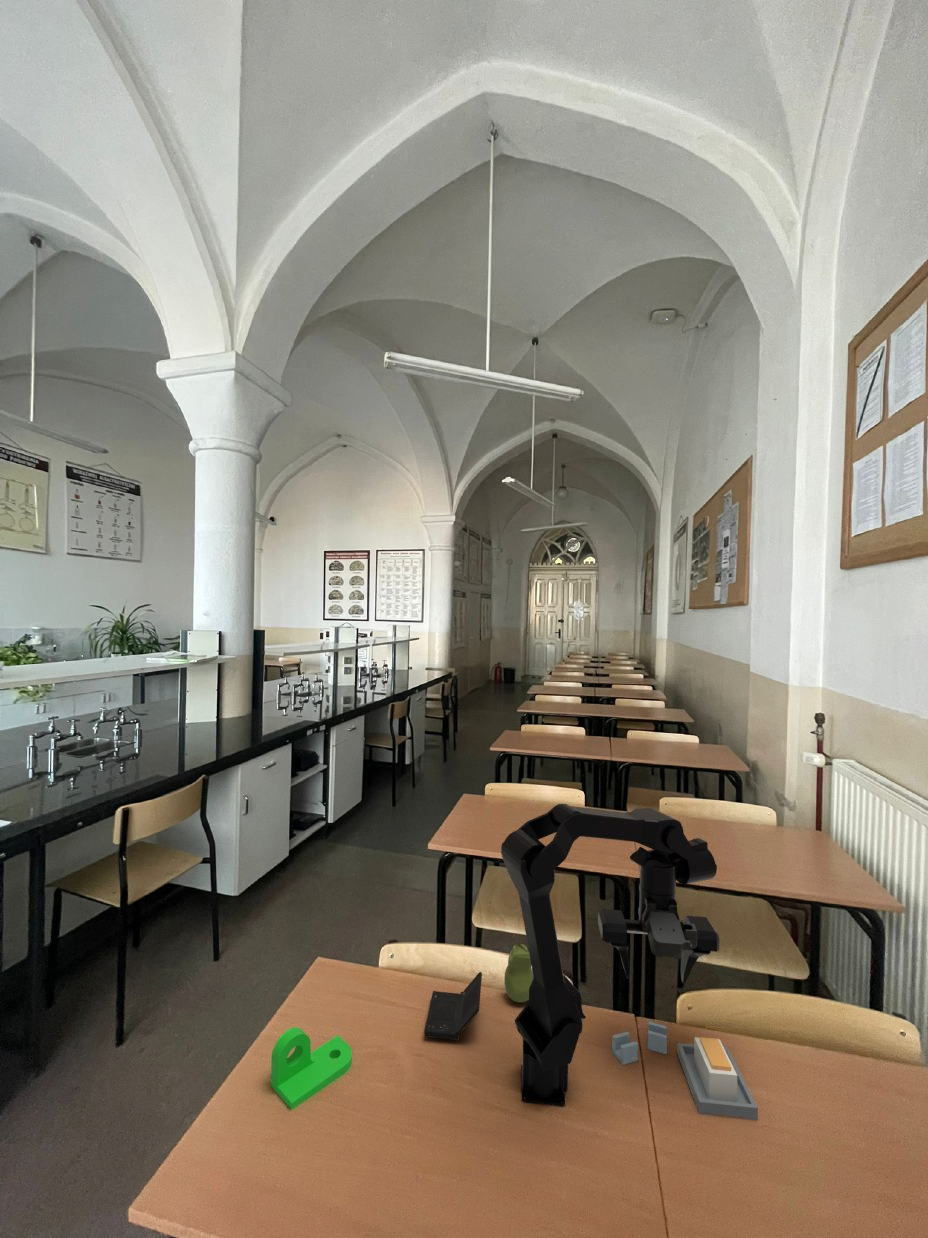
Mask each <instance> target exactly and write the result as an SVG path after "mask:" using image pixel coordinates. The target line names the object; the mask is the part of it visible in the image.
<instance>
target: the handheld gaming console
mask: <svg viewBox="0 0 928 1238" xmlns="http://www.w3.org/2000/svg"><path fill="white" fill-rule="evenodd" d="M482 977H483V972H482V971H479V972H478V973H477V974H476V976H475V977H474V978H473V980H471V982H470V983H469V984H468V985H467V987H466V988H464V990H463V991H461V992H460V993H458V992H447V991H440V990H439V991H437V990H433V991H432V994H431V998H430V999H431V1000H430V1003H429V1008H428V1013H427V1017H426V1021H425V1024H424V1025H425V1026H424V1032H423V1034H424V1035H423V1036H424V1037H428V1038H429V1037H430V1038H438V1039H447V1040H455V1041H459V1038H460V1033H462V1031H463V1030H465V1028H466V1027H467V1025H468V1024H469V1023H470V1022H471V1021H472V1019H474V1017H475V1016H476V1015H477V1013H478V1012H479V1011H480V1003H481V1002H480V1001H481V993H482V992H481V991H482Z"/></svg>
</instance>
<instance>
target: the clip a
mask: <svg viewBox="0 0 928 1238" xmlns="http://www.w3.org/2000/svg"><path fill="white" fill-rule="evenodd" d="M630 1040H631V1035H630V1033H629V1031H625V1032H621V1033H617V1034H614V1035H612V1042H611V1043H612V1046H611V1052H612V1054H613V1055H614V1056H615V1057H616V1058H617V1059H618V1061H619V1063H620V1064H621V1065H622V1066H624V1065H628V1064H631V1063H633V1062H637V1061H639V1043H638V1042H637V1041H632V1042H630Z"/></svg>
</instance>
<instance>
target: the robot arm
mask: <svg viewBox="0 0 928 1238" xmlns="http://www.w3.org/2000/svg"><path fill="white" fill-rule="evenodd" d="M553 834H555V835H554V837H553V839H552V840H551V841H550V842H549V843H548V844H547V845H545V844H544V843H543V842H541V839H543V838H546V837H548V836H551V835H553ZM580 837H584V838H593V839H594V838H595V839H603V840H604V839H606V840H613V841H615V840H616V841H623V842H624V841H625V842H633V843H636V844H640V846H639V847H638V849H637V850H636V851H634V852H633V853H632V854H631V855H630V856H629V860H630V861H631V862H633V863H635V864H637V865H638V866H639V867H640V870H639V871H640V872H639V873H640V874H639V875H640V877H639V884H638V890H639V907H638V910H637V911H638V912H637V913H638V919H625V917H624V914H623V911H622V910H617V909H606V908H602V909H600V910H599V912H598V915H597V924H598V929H599V932H600V936H601V940H602V941H603V942H605V943H609V946H611V947H613V948H616V949H617V951H618V953H619V955H620V959H621V963H622V966H623V970H624V973H625V978H626V979H629V978H630V973H631V971H630V960H629V947H630V946H629V943H628V934H641V935H647V936H648V940H649V941H648V942H649V944H650V950H651V953H652V955H654V956H655V957H656V958H657V957H658V958H663V957H664V958H665V957H666V958H674V959H680V979H681V982H682V984H686V983H687V982H688V979H689V977H690V974H691V972H692V970H693V968H694V966H695V964H696V962H697V961H698V959H699V958H700V957H702V956H709V955H710V954H711V952H719V951H720V937H719V936H720V935H719V934H718V932H717V930H716V928H715V927H714V926H713V924H712V921H710V920H709V919H708V917H706V916H696V915H694V916H693V915H685V916H684V920H681V919H680V916H679V914H678V902H677V900H676V897H677V896H676V895H677V894H676V892H677V890H676V889H677V882H678V883H679V884H680V885H689V884H690V885H691V884H695V883H698V882H703V881H708V880H709V881H710V880H712V879H713V878H715V876H716V874H717V871H718V865H717V863H716V861H715V858H714V857H715V856H714V855H713V854H712V852H711V851H710V850H709V848H708V846H709V845H708V844H709V843H708V842H707V841H706V840H703V839H702V838H699V837H696V838H692V839H691V840H688V838H687V836H686V835H685V833H684V827H683V825H682V822H681V821H680V820H677V818H674V817H672V816H669V815H668V814H666V813H663V812H661V811H659V810H658V809H655V808H652V807H644V808H643V807H642V808H635V809H632V810H631V811H629V812H621V811H614V810H606V809H597V808H589V807H582V806H573V805H569V804H567V803H558V804H556V805H554V806H553V807H552V808H551V809H550V810H549V811H547V812H546V813H543V814H541V815H538V816H537V817H534V818H532V819H529V820H527V821H526V822H525V823H523V824H522V825H521V826H520V827H519V828H517V829H516V830H514V831H512V832H511V833H509V834H508V835H507V836H506V838H505V839H504V841H503V842H502V844H501V846H500V847H501V848H500V854H501V858H502V860H503V863H504V865H505V868H506V871H507V873H508V875H509V878H510V879H511V882H512V883H513V885H514V887H515V888H516V891H517V894H518V898H519V902H520V903H519V905H520V908H521V914H522V919H523V925H524V926H523V927H524V931H525V936H526V942H527V946H528V947H527V950H528V952H529V954H530V960H531V965H532V966H531V968H532V971H533V980H532V983H531V985H530V987H529V999H528V1002H527V1003H526V1004H525V1006H524V1007H523V1008H522V1010H521V1011H520V1012H519V1014H518V1015H517V1016H516V1018H515V1019H514V1024H515V1028H516V1030H517V1033H518V1034H520V1035H521V1038H522V1064H521V1065H520V1077H521V1079H520V1081H521V1082H520V1083H521V1085H520V1087H521V1088H520V1089H521V1090H520V1091H521V1096H520V1097H521V1099H520V1100H521V1101H522V1102H523V1103H526V1104H527V1103H528V1104H536V1105H537V1104H538V1105H547V1106H555V1107H556V1106H557V1107H565V1106H566V1095H565V1093H567V1092H568V1091H569V1090H568V1089H569V1087H568V1085H569V1083H568V1082H569V1065H570V1064H571V1063H572V1062H573V1061H572V1060H573V1057H574V1054H575V1051H576V1048H577V1044H578V1041H579V1037H580V1034H582V1032H583V1020H585V1019H586V1018H587V1017H586V1015H585V1014H584V1012H583V1008H582V1004H583V1003H582V1001H583V1000H582V999H583V998H582V994H581V992H580V991H579V990H578V988H577V987H575V985H574V984H573V983H572V982H571V981H570V979H568V978H567V976H566V975H565V974H564V973H563V966H562V960H561V953H560V949H559V942H558V936H557V930H556V925H555V919H554V912H553V907H552V902H551V891H552V888H553V886H554V884H555V881H556V872H555V871H556V869H557V868H558V867H559V866H560V865H561V864H563V862H564V861H566V859H567V857H568V855H569V853H570V851H571V848H572V846H573V844H574V842H575V841H576V840H577V839H579V838H580ZM641 845H642V846H644V847H647V848H649V849H648V850H647V849H645V848H644V847H642V846H641Z"/></svg>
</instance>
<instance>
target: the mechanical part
mask: <svg viewBox="0 0 928 1238" xmlns="http://www.w3.org/2000/svg"><path fill="white" fill-rule="evenodd" d="M311 1046H312V1042H311V1038H310V1036H309V1035H308V1034H306V1032H305V1031H303V1030H302V1028H300V1027H298V1026H296V1027H291V1028H289V1029H287V1030H286V1031H285V1032H283V1034H281V1036H280V1037H279V1038H278V1039H277V1041H276V1042H275V1044H274V1046H273V1049H272V1053H271V1059H270V1060H271V1068H270V1087H271V1088H272V1089H273V1091H274V1092H275V1093H276V1094H277V1096H279V1097H280V1099H281V1100H282V1101H283V1102H284V1103H285V1105H286V1106H287V1107H288V1108H289V1109H290V1110H291V1111H293V1110H294V1109H296V1108H297V1107H299V1106H300V1105H302V1104H303V1103H304V1102H306V1101H307V1100H309V1099H310V1098H312V1097H313V1096H315V1095H316V1094H318V1093H319V1092H321V1091H322V1090H324V1089H325V1088H326V1087H328V1086H329V1085H331V1084H332V1083H334V1082H335V1081H337V1080H338V1079H340V1078H341V1077H343V1076H344V1075H345V1074H346V1073H348V1071H349V1070H350V1069H351V1067H352V1064H353V1063H352V1062H353V1050H352V1048H351V1046H350V1045H349V1043H347V1042H346V1041H345V1040H343V1038H341V1037H340V1036H339V1035H336V1036H334V1037H332V1038H331V1039H329V1040H328V1041H326V1042H325V1043H324V1044H322V1045H321V1046H319V1047H316V1049H314V1050H313V1051H311V1049H312V1048H311ZM293 1049H294V1050H293ZM292 1050H293V1052H292V1053H291V1051H292ZM290 1053H291V1054H290ZM289 1054H290V1056H289Z"/></svg>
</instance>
